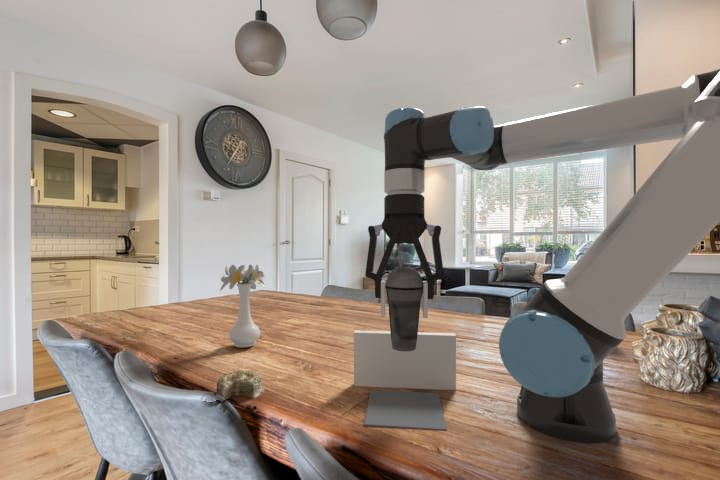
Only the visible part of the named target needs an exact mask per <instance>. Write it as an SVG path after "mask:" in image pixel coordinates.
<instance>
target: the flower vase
mask: <svg viewBox="0 0 720 480" xmlns="http://www.w3.org/2000/svg"><path fill="white" fill-rule="evenodd" d="M245 267H246V265H245V264H241V265H240V266H238V267H237V266H236V265H235V264H232V265H230V266H229V268H228V267H227V265H225V268H224V269H225V270H224V272H225V274H224V275H222V276H221V277H220V281H221V283H222V285H221V287H220V290H219V291H220V292H221V291H222V290H223V289H224V288H225V287H226V286H229V287H228V288H229V290H232V289H233V288H234V287H235V286H237V288H238V293H239V294H238V295H239V300H238V301H239V304H238V305H239V307H238V316H237V319H236V322H235V324H234V325H233V326H232V327H231V329H230V330H229V332H228V338H229V340H230V341H231V342H232V343H233V345H234V346H235V348H249V347H253V346H254V345H255V344H256V341H258V339H259V338H260V336H261V330H260V328H259V326H258V325H257V324H256V323H255V322H254V320H253V318H252V316H251V307H250V306H251V303H250V296H251V295H250V294H251V290H256V289H257V285H258V284H259V285H260V286H262V287H263V288H265V287H266V286H265V284H264V281H263V280H265V279H266V276H265V274H264V272H263V271H262V270H260V268H259V265H258V264H255V266H254V267H253V265H252V264H249V265H248V268H247V270H246V269H245ZM256 284H257V285H256Z"/></svg>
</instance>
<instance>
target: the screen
mask: <svg viewBox="0 0 720 480" xmlns="http://www.w3.org/2000/svg"><path fill="white" fill-rule="evenodd" d="M353 386H354V387H365V388H367V387H369V388H370V387H371V388H372V387H373V388H391V389H392V388H394V389H419V390H421V389H422V390H446V391H447V390H448V391H456V390H457V335H456V333H455V332H453V333H452V332H429V331H428V332H424V331H423V332H421V331H420V332H419V331H418V336H417V343H416V349H415V350H413V351H397V350H394V349H393V348H392V340H391V331H390V330H385V331H384V330H360V329H359V330H357V329H356V330H354V332H353Z"/></svg>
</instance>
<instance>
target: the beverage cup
mask: <svg viewBox="0 0 720 480" xmlns="http://www.w3.org/2000/svg"><path fill="white" fill-rule="evenodd" d="M396 245H397V247H396V248H397V256H398V263H399V266H396V267H394V268H393V269H391V270H390V272H389V274H387V277H386V285H385V288H386V299H387V302H388V314H389V315H388V316H389V318H388V319H389V328H390V330H389V331H391V340H392V348H393V349H394V350H397V351H413V350H415V349H416V343H417V336H418V332H419V322H420V311H421V302H422V299H423V279H422V276H421V274H420V273H419V272H418V270H416V268H414V267H412V266H409V265H403V262H402V261H403V260H402V251H401V244H396Z"/></svg>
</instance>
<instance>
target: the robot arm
mask: <svg viewBox="0 0 720 480" xmlns="http://www.w3.org/2000/svg"><path fill="white" fill-rule="evenodd" d="M677 139H680V141H678V143H677V144H676V145H675V146H674V148H672V149H671V151H670V152H669V153H668V155H667V156H665V158H664V159H663V161H661V163H660V164H659V165H658V166H657V167H656V169H655V170H654V171H653V172H652V173H651V175H650V176H649V177H648V178H647V179H646V180H645V182H643V184H641V186H640V187H639V188H638V190H637V191H635V193H634V194H633V196H632V197H631V198H630V199H629V200H628V202H627V203H626V204H625V205H624V207H622V209H620V211H619V212H618V213H617V214H616V215H615V217H614V218H613V219H612V220H611V222H610V223H609V224H608V225H607V226H606V227H605V229H603V231H602V232H601V233H600V234H599V235H598V237H597V238H596V239H595V240H594V241H593V243H592V244H591V245H590V246H589V247H588V249H587V250H586V251H585V252H584V253H583V254H582V256H581V257H580V258H579V259H578V260H577V261H576V262H575V264H574V265H572V267H571V268H570V270H569V271H568V272H566V275H564V277H563V276H562V277H561V278H554V279H547V280H545V281H544V282H543V284H541V286H540V287H539V288H537V287H533V288H530V289H528V292H527V297H526V301H525V302H526V303H525V305H524V306H523V308H521V310H520V311H519V312H518V313H516V314H514V315H513V316H511V317H510V318H508V320H507V321H506V322H505V324H504V325H503V328H502V330H501V332H500V335H499V340H498V349H499V354H500V358H501V361H502V364H503V366H504V368H505V369H506V371H507V372H508V373H509V375H510V376H511V377H512V378H513V379H514V380H515V381H516V382H517V383H519V384H520V386H521V387H520V391H519V393H518V395H517V399H516V413H517V415H518V417H519V418H520V419H521V420H522V421H523V422H524V423H525V424H526V425H528V426H530V427H531V428H533V429H534V430H536V431H539V432H540V433H542V434H546V435H548V436H552V437H554V438H557V439H562V440H565V441H570V442H575V443H586V444H593V443H595V444H597V443H603V442H604V443H605V442H607V441H610V440H612V439H613V438H614V437H616V434H617V433H616V432H617V419H616V415H615V413H614V412H613V408H612V404H611V402H610V399H609V395H608V393H607V390H606V388H605V384H604V360H605V359H606V358H608V357H609V355H610V354H611V353H612V352H613V351H615V349H617V348H618V346H620V345H621V343H622V342H624V340H626V338H627V337H628V336H627V332H626V326H625V320H626V319H627V317H629V315H630V314H631V313H632V312H633V311H634V309H636V308H637V306H638V305H640V304H641V303H642V302H643V301H644V300H645V299H646V298H647V297H648V295H650V294H651V292H653V291H654V289H655V288H657V286H658V285H660V283H662V281H664V279H666V277H667V276H668V275H669V274H670V273H671V272H672V271H673V270H674V269H675V268H676V267H677V266H678V265H679V264H680V263H681V262H682V261H683V260H684V259H685V258H686V257H687V256H688V255H689V254H690V253H691V251H693V250H694V249H695V247H696V246H698V245H699V243H701V242H702V240H704V238H705V237H706V236H708V234H709V233H710V232H711V231H713V229H714V228H715V227H716V226H718V224H719V223H720V68H719V69H714V70H712V71H708V72H703V73H700V74H695V75H692V76H691V77H690V78H688V80H687V81H686V82H685V83H683V84H682V85H679V86H674V87H670V88H665V89H659V90H655V91H649V92H645V93H641V94H637V95H633V96H627V97H623V98H618V99H614V100H610V101H605V102H600V103H595V104H591V105H585V106H581V107H576V108H572V109H568V110H563V111H558V112H552V113H548V114H545V115H539V116H533V117H530V118H525V119H521V120H517V121H511V122H507V123H504V124H498V125H494V121H493V117H492V116H491V112H490V111H489V109H488V108H487V107H485V106H482V105H481V106H480V105H478V106H473V107H462V108H459V109H458V110H452V111H449V112H445V113H440V114H436V115H432V116H428V117H426V116H425V113H424V111H423V110H421V109H419V108H415V107H406V108H405V107H404V108H403V107H400V108H396V109H393V110H392V111H390V112H388V113H387V115H386V117H385V122H384V134H383V140H384V142H383V143H384V172H383V174H384V175H383V176H384V177H383V179H384V180H383V181H384V183H383V184H384V185H383V187H384V189H383V190H384V193H385V194H386V195H385V197H384V202H383V204H384V206H383V208H384V209H383V213H384V216H383V221H382V222H381V224H377V225H369V226H368V228H367V231H368V235H369V242H368V243H369V244H368V251H367V258H366V259H367V260H366V266H365V277H366V279H367V278H368V279H370V280H373V281H374V296H375V298H376V299H380V317H381V318H385V317H386V308H387V306H386V300H387V293H386V288H385V285H386V281H387V279H386V280H385V279H383V276H384V273H385V271H386V268H387V266H388V263H389V261H390V258H391V255H392V252H393V250H394V248H395V245H397V244H400V245H401V244H407V245H413V247H414V250H415V251H416V254H417V257H418V260H419V262H420V265H421V267H422V270H423V273H424V275H425V278H426V280H422V282H423V293H422V318H423V319H428V314H429V313H428V312H429V310H428V306H429V305H428V303H429V302H428V301H429V300H434V298H435V297H434V296H435V295H434V294H435V291H434V290H435V288H434V287H435V282H436V281H439V280H443V279H444V278H445V274H444V265H443V257H442V252H441V250H442V249H441V243H440V235H441V231H442V227H441V225H433V224H428V222H427V221H426V218H425V197H424V195H422V194H423V193H425V164H426V163H425V162H426V161H433V160H434V161H435V160H440V159H448V158H452V159H454V160H457V161H458V162H460V163H463V164H465V165H468V166H469V167H471V168H473V169H474V170H477V171H492V170H494V169H497V168H498V167H499V166H502V165H507V164H514V163H515V164H516V163H520V162H528V161H534V160H540V159H549V158H553V157H554V158H555V157H562V156H569V155H573V154H574V155H575V154H582V153H588V152H596V151H602V150H609V149H615V148H623V147H630V146H637V145H643V144H650V143H658V142H664V141H672V140H677ZM426 230H427V231H428V233H427V234H428V236H429V237H431V247H432V252H433V253H432V254H433V260H434V261H433V262H434V270H435V272H432V269H431V267H430V265H429V262H428V260H427V257H426V255H425V252H424V249H423V247H422V243H421V241H420V238H421V236H422V235H423V234H424V232H425V231H426ZM381 231H383V232H384V233H385V234H386V236H387V237H388V238H389V240H388V241H387V242H388V243H387V245H386V248H385V251H384V252H383V255H382V257H381V261H380V263H379V266H378V269H377V271H376V272H374V266H375V259H376V251H377V243H378V237H379V236H380V235H381Z"/></svg>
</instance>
